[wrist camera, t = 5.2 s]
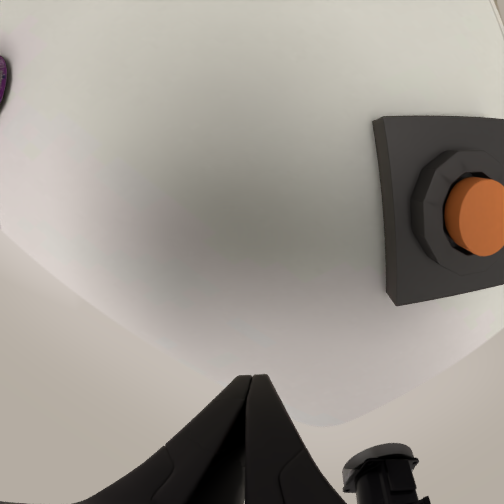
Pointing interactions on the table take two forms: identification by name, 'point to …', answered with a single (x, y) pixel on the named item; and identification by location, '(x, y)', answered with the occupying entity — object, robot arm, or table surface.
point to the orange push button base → (433, 202)
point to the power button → (476, 215)
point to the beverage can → (2, 77)
